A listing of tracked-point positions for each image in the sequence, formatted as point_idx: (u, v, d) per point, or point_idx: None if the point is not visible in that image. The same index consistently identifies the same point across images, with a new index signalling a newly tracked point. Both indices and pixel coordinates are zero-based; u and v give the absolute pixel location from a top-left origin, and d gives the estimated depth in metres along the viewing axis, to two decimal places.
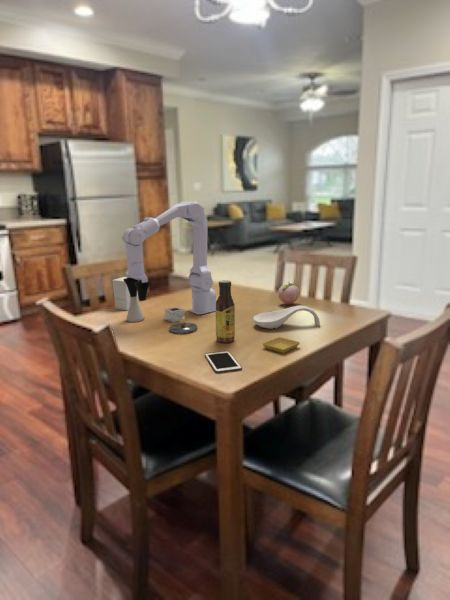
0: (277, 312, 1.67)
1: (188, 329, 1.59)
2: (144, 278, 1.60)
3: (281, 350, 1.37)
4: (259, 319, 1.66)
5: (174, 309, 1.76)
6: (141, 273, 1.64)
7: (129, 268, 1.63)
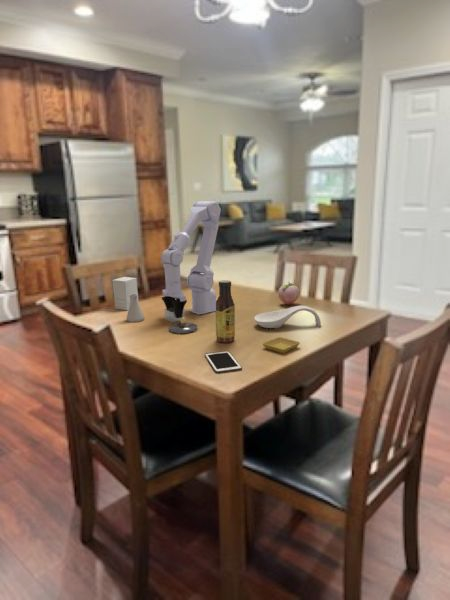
0: (278, 312, 1.67)
1: (188, 329, 1.59)
2: (182, 297, 1.67)
3: (281, 350, 1.37)
4: (260, 319, 1.66)
5: (174, 309, 1.76)
6: (179, 292, 1.71)
7: (167, 287, 1.70)
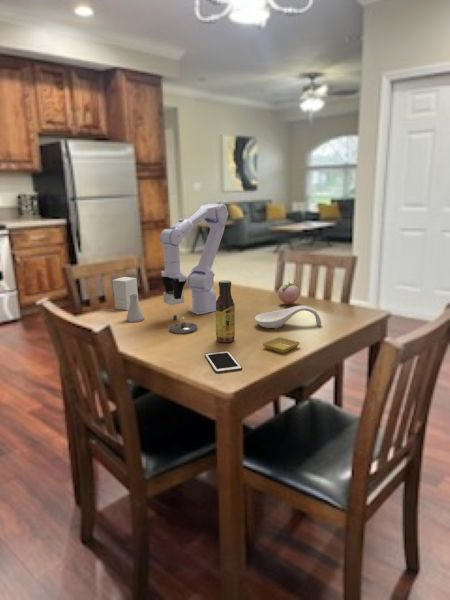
0: (279, 312, 1.67)
1: (188, 329, 1.59)
2: (182, 277, 1.65)
3: (281, 350, 1.37)
4: (260, 319, 1.66)
5: (173, 292, 1.74)
6: (178, 272, 1.69)
7: (166, 267, 1.68)
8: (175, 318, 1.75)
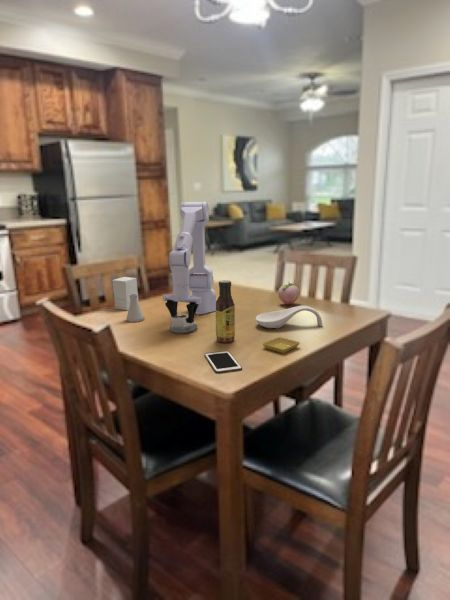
0: (280, 312, 1.67)
1: (188, 329, 1.59)
2: (199, 299, 1.57)
3: (281, 350, 1.37)
4: (261, 319, 1.66)
5: (180, 316, 1.63)
6: (189, 295, 1.59)
7: (179, 291, 1.56)
8: None
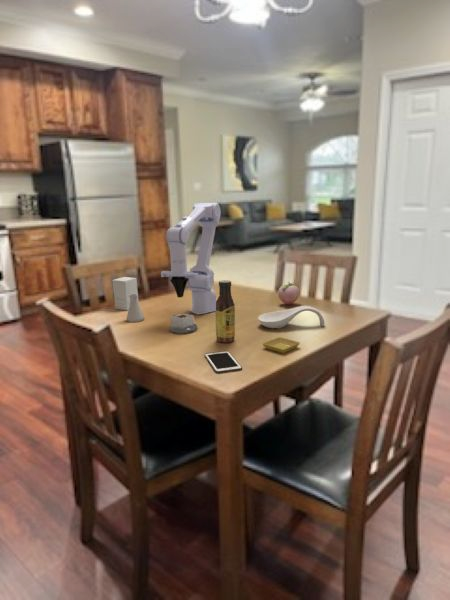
0: (282, 312, 1.67)
1: (188, 329, 1.59)
2: (196, 275, 1.64)
3: (281, 350, 1.37)
4: (264, 319, 1.66)
5: (180, 316, 1.63)
6: (186, 271, 1.66)
7: (176, 267, 1.63)
8: None
